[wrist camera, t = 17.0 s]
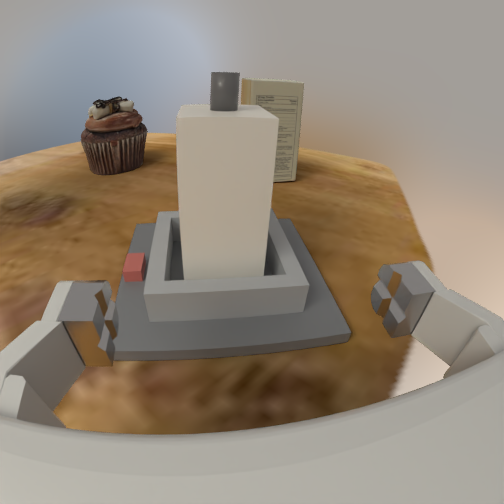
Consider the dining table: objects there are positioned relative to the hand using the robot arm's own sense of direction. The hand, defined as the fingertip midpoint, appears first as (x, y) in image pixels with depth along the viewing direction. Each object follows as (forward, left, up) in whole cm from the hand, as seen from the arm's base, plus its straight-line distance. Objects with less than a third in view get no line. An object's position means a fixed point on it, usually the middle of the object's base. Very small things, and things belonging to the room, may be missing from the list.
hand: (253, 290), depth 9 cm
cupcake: (-36, -13, -7) cm, 39 cm away
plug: (-10, 0, -6) cm, 11 cm away
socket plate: (-10, 0, -7) cm, 12 cm away
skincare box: (-28, +7, -7) cm, 30 cm away
